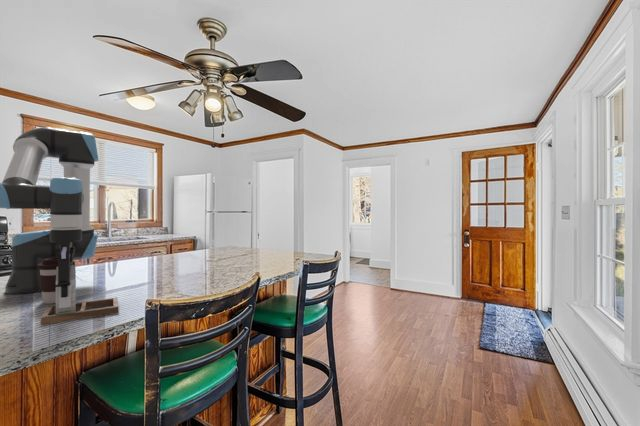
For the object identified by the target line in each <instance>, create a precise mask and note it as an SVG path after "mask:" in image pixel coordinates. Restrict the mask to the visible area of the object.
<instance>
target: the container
mask: <svg viewBox="0 0 640 426" xmlns="http://www.w3.org/2000/svg"><path fill="white" fill-rule="evenodd" d="M76 273H77V271H76V264H75V265H71V268H70V283H71V284H70V285H71V307H67V308H60V309H59V287H56V303H55V305H56V313H55V315H56V314H63V313H70V312H77V310H76V303H77V302H76V301H77V299H76V298H77V297H76V294H77V293H76V292H77V285H76V284H77V277H76ZM56 285H58V267H56Z"/></svg>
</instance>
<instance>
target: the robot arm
mask: <svg viewBox="0 0 640 426" xmlns="http://www.w3.org/2000/svg"><path fill="white" fill-rule="evenodd" d="M12 150H13V155H12V158H11V161H10V163H9V165H8V167H7V170H6V172H5V175H4V177H3V179H2V182H0V209H6V210H10V209H11V210H18V209H20V210H22V209H25V210H26V209H32V210H34V209H35V210H36V209H37V210H49V217H48V218H47V219H46V220H47V221H48V222H49V228H50V229H43V230H42V229H41V230H34V231H26V232H21V233H19V232H18V233H16V234H14V235H13V237H12V238H11V239H12V240H11V241H12V242H11V273H10V275H9V277H8V280H7V282H6V284H5V287H4V289H5V290H4V293H6V294H9V295H14V294H15V295H16V294H17V295H20V294H31V293H37V292H41V288H40V277H39V275H40V270H39V269H37V265H38V264H40V263H42V262H43V260H44V259H47V258H55V257H58V285H55V286H56V287H59V309H60V308H67V307H71V285H70V284H71V283H70V268H71V265H73V261H79V260H80V261H82V260H89V259H92V258H94V256H95V253H96V249H97V242H98V237H99V232H97V231H95V227H94V226H92V225H91V224H90V222H91V220H90V219H91V217H90V216H91V215H90V214H91V209H90V208H91V207H90V206H91V196H90V195H91V190H90V189H91V169H92V168H93V167H95V162H96V163H97V162H99V154H98V147H97V139H96V136H95V135H94V134H92V133H90V132H84V131H78V130H69V129H62V128H55V127H54V128H53V127H47V126H46V127H37V128H33V129H30V130H27V131H25V132H23V133H21V135H20V134H19V136H18V137H17V138H16V139H15V140H14V142H13V145H12ZM46 158H55V159H58V163H59V164H60V165H61V166H62V167H63V177H53V178H51V179H50V180H49V181H50V182H49V185H46V184H45V185H40V184H37V182H38V177H39V175H40V171H41V167H42V163H43V161H44V160H45V159H46Z"/></svg>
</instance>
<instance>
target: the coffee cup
mask: <svg viewBox="0 0 640 426" xmlns="http://www.w3.org/2000/svg"><path fill="white" fill-rule="evenodd" d="M73 265H75V266H76V261H75V260H73ZM56 267H58V257H55V258H47V259H44V260H43V262H42V263H40V264H38V265H37V269H39V270H40V275H39V277H40V288H41V291H40V292H41V298H42V299H41V301H42V303H43V304H47V305H49V304H50V305H51V304H53V305H54V304H56V286H55V285H56Z"/></svg>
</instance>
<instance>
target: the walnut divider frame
mask: <svg viewBox="0 0 640 426" xmlns="http://www.w3.org/2000/svg"><path fill="white" fill-rule="evenodd" d="M118 299H119V298H118V297H117V296H116V297H111V298H110V297H109V298H101V299H95V300H86V301H79V302H76V309H78V311H77V310H76V312H70V313H63V314H56V304H53V305H48V306H47V307H46V309H45V311H44V312H43V314H42V315H41V317H40V326H42V325H43V326H44V325H49V324H55V323H56V324H57V323H62V322H68V321H76V320H82V318H83V319H88V318H93V317H94V318H95V317H101V316H107V315H109V316H110V315H114V314H119V300H118ZM104 306H105V307H104ZM106 306H108V307H106ZM96 307H97V308H96ZM98 307H100V308H98ZM90 308H91V309H90ZM92 308H93V309H92ZM54 313H55V314H54Z"/></svg>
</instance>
